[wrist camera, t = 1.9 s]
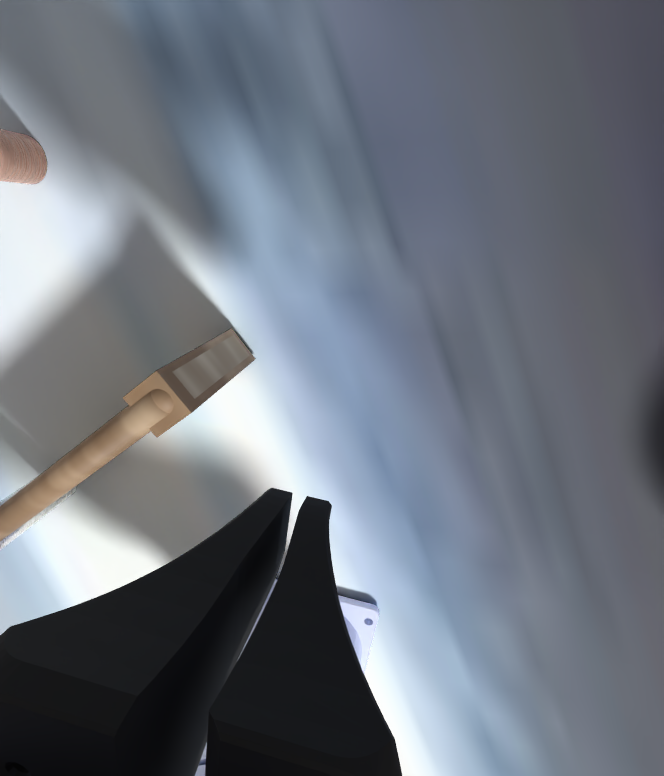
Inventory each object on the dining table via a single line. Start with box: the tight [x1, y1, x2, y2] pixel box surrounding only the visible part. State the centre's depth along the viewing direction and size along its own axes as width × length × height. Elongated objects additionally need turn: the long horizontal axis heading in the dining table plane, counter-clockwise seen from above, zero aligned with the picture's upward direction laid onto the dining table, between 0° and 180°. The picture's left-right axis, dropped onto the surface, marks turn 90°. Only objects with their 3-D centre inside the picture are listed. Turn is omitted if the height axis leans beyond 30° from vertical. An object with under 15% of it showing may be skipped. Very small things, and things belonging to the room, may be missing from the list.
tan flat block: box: [0, 328, 255, 541], centre depth 20 cm, size 14×2×7 cm, turn 127°
